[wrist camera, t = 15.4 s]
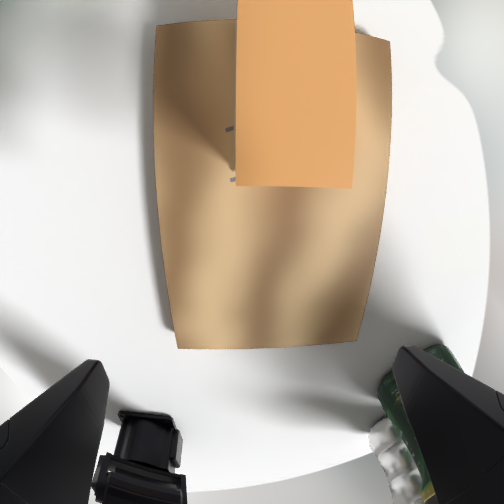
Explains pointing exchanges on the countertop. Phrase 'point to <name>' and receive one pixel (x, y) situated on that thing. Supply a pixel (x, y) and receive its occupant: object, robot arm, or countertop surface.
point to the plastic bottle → (396, 463)
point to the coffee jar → (399, 419)
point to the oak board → (260, 207)
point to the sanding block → (295, 93)
